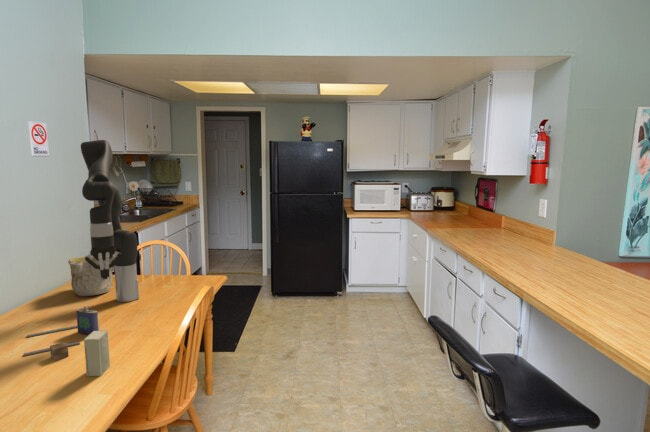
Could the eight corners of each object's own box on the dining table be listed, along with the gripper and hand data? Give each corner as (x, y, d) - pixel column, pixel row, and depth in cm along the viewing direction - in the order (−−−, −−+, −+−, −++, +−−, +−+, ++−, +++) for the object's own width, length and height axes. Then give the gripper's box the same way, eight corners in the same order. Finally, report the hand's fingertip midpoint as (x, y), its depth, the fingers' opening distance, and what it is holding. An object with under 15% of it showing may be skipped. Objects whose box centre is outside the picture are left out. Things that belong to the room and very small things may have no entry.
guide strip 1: (77, 326, 153) (77, 325, 153) (77, 327, 152) (77, 326, 152) (27, 336, 144) (26, 335, 144) (26, 337, 143) (26, 336, 143)
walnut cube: (64, 352, 132) (63, 341, 131) (68, 356, 129) (67, 345, 129) (50, 357, 129) (49, 345, 128) (54, 361, 126) (53, 349, 126)
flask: (100, 333, 147) (98, 306, 146) (94, 336, 145) (92, 309, 143) (81, 330, 150) (79, 303, 148) (75, 333, 147) (72, 306, 146)
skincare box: (96, 366, 123) (93, 330, 121) (110, 366, 123) (108, 330, 122) (85, 377, 117) (82, 339, 115) (101, 376, 117) (98, 338, 116)
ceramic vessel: (42, 278, 188) (75, 235, 197) (88, 298, 204) (116, 257, 213) (57, 287, 173) (92, 240, 183) (105, 308, 189) (135, 263, 199)
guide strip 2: (79, 342, 139) (79, 341, 139) (79, 344, 138) (79, 342, 138) (23, 354, 130) (23, 353, 130) (23, 356, 129) (23, 355, 129)
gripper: (120, 231, 153) (122, 273, 155) (81, 234, 146) (84, 278, 148) (122, 234, 147) (125, 278, 149) (82, 237, 139) (85, 283, 142)
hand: (105, 278), depth 148 cm, fingers closed
